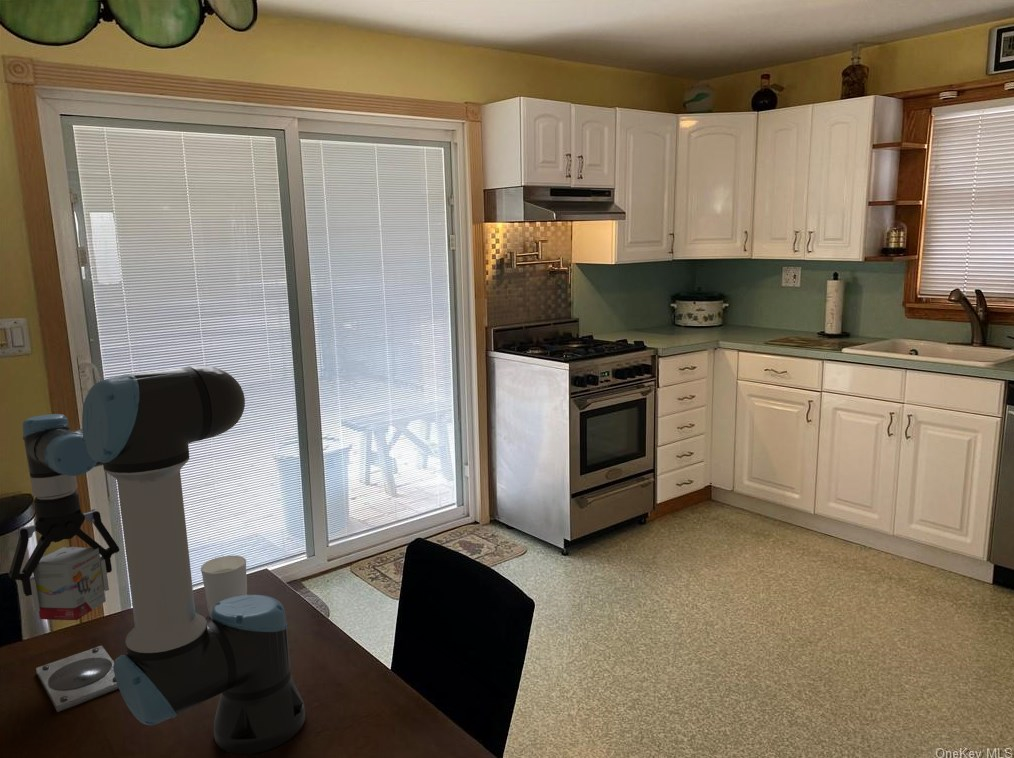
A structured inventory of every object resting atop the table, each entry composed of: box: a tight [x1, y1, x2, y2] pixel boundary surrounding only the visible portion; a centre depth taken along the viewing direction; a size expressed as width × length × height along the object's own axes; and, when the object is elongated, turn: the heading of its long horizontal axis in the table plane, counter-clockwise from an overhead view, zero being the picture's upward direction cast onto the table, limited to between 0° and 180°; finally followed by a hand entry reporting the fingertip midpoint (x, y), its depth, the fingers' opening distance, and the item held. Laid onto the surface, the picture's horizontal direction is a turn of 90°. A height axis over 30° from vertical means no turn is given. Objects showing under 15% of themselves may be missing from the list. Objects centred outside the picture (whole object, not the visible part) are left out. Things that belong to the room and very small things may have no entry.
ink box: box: [32, 546, 107, 621], centre depth 146 cm, size 9×9×12 cm
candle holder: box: [200, 555, 248, 620], centre depth 170 cm, size 10×10×12 cm
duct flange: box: [35, 645, 119, 713], centre depth 145 cm, size 18×12×2 cm, turn 43°
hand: (71, 598), depth 147 cm, fingers closed on ink box, 11 cm apart
